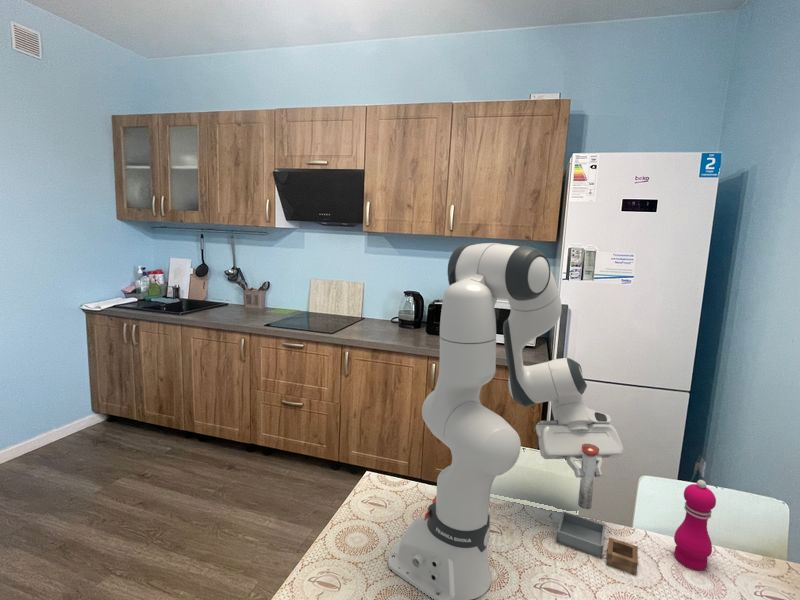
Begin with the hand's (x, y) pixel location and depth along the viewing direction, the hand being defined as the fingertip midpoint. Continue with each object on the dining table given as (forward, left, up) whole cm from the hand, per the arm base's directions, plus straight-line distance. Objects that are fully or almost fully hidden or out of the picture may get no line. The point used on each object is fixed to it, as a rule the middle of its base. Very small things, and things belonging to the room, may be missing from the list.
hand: (589, 476), depth 101 cm
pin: (0, +1, -8) cm, 8 cm away
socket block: (+9, -3, -17) cm, 19 cm away
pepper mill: (+23, +6, -17) cm, 29 cm away
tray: (0, 0, -17) cm, 17 cm away
